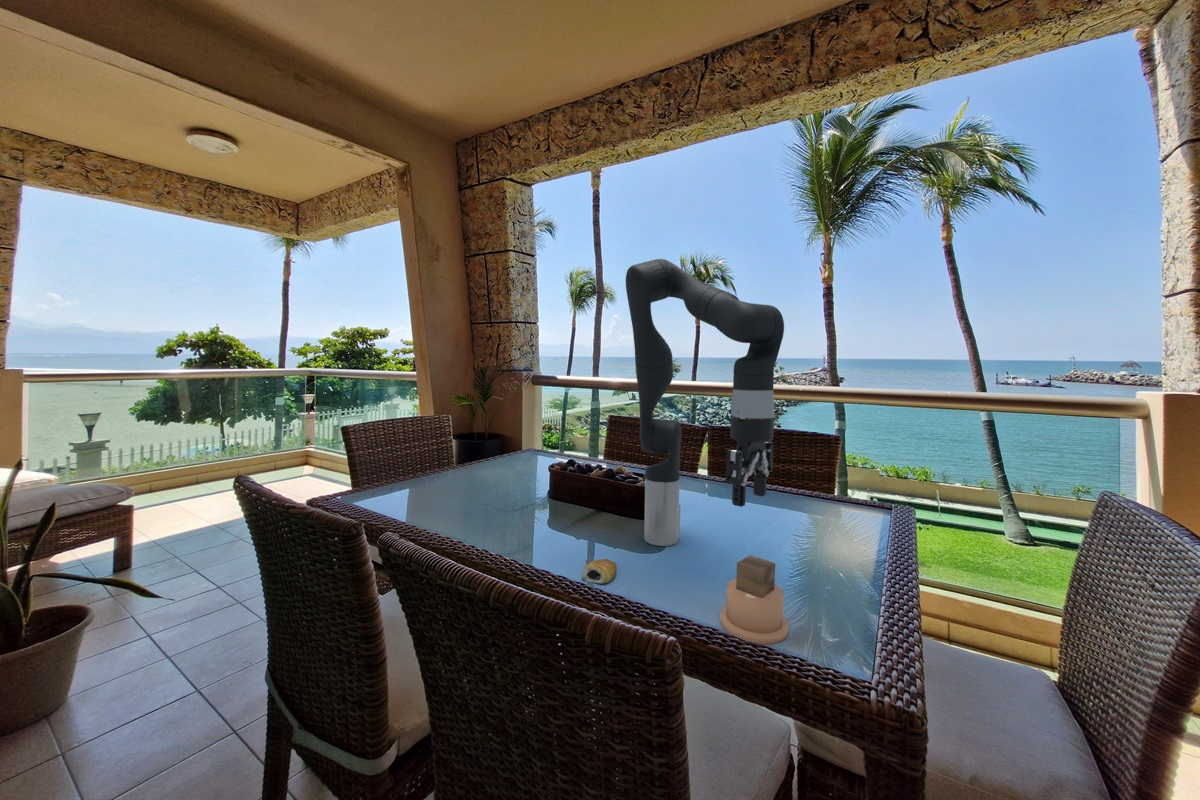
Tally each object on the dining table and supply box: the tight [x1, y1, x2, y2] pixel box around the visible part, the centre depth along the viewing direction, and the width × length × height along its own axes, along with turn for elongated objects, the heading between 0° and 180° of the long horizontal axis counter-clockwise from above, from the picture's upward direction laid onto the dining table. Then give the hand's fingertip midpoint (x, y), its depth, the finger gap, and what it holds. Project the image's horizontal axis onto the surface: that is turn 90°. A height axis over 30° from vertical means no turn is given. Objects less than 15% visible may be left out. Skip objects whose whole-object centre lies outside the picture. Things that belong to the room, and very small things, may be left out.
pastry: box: [581, 558, 617, 585], centre depth 108 cm, size 9×7×4 cm
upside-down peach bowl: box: [719, 578, 790, 645], centre depth 87 cm, size 12×12×7 cm
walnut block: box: [735, 554, 776, 598], centre depth 87 cm, size 5×5×5 cm
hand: (749, 500), depth 88 cm, fingers open, 8 cm apart
